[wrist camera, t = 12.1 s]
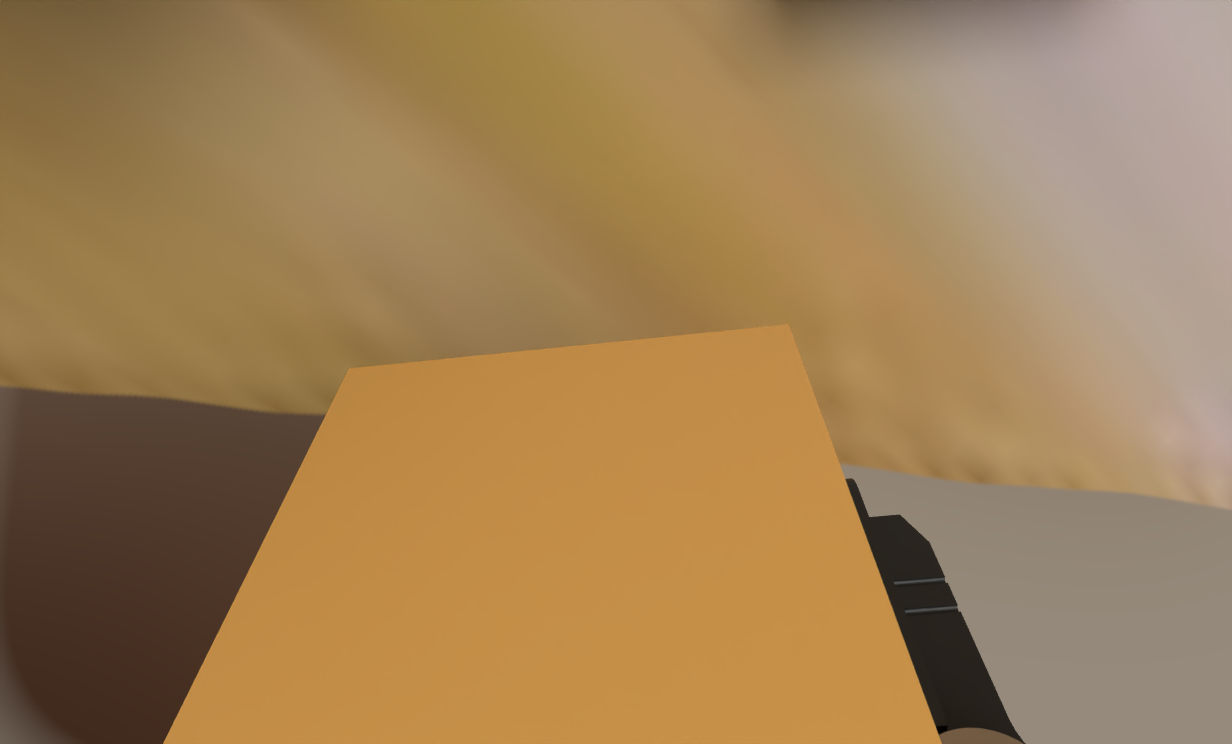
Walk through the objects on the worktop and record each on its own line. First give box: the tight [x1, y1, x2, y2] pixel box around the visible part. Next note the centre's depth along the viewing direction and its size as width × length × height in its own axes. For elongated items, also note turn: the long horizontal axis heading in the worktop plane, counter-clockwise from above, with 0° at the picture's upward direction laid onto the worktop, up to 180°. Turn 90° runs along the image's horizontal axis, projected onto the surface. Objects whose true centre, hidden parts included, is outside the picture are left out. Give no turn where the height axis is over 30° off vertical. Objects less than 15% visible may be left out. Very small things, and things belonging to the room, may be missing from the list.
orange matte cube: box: [163, 324, 942, 744], centre depth 9 cm, size 6×6×6 cm
